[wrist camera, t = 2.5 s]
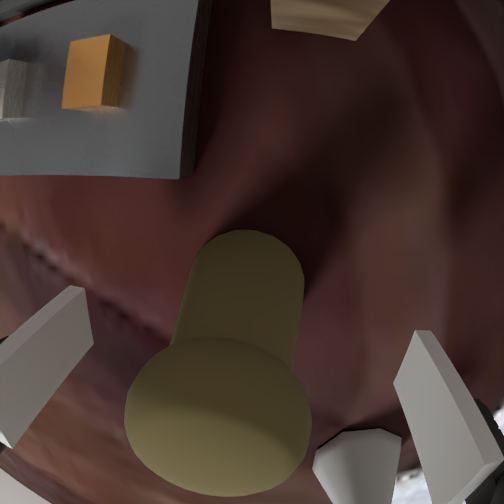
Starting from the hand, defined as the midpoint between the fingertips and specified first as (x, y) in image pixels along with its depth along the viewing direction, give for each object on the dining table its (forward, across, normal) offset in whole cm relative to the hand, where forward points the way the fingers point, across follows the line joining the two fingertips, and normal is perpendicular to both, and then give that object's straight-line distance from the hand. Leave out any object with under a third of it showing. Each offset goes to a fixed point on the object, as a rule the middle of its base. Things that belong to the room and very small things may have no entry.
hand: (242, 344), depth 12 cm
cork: (+6, 0, 0) cm, 6 cm away
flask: (+6, +10, -14) cm, 18 cm away
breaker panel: (+5, -10, +10) cm, 15 cm away
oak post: (+5, +2, +15) cm, 16 cm away
